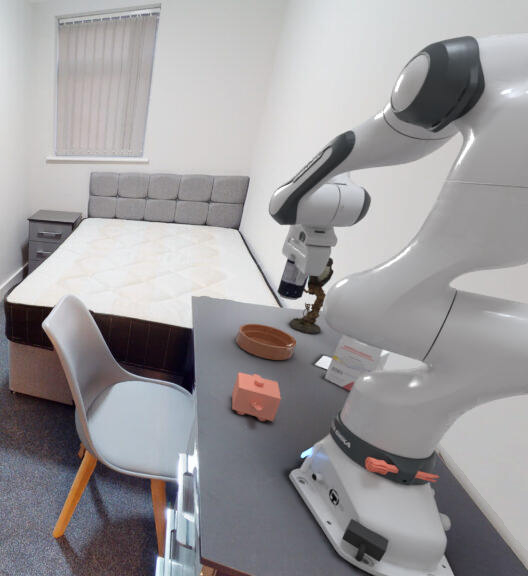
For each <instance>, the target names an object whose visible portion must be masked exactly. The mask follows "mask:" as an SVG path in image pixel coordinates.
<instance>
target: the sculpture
mask: <svg viewBox="0 0 528 576" xmlns="http://www.w3.org/2000/svg"><path fill="white" fill-rule="evenodd" d="M333 264H334V259H333V258H332V257H329V260H328V262H327V265H326V267H325V269H324V271H323V273H322V274H321V275H320V276H310V275H309V277H308V280H307V289H306V288H305V289H304V291H303V293H305V294H308V295H312V296H314V295H315V297H316V298H315V300H314V301H313V302H314V303H307V302H304V306H305V308H304V310H303V312H302V315H303V316H302V317H299V318H298V317H296V318H293V319H291V320H290V322H289V323H288V325H289V326H290V327H292V328H293V329H294V330H297V331H299V332H303V333H306V334H311V335H314V334H318V333H320V332H321V327H320V326H319V325H318V324H316V322H317V319H318V318H320V316H321V315H320V311H321V309H322V308H323V302H324V298H325V296H326V294H327V293H325V290H324V289H323V287H324V286H326V285H327V284H328V282H329V281H330V280H331V279H332V277H333V275H334V270H333V267H332V266H333ZM310 309H311V310H310ZM305 311H307V312H306V314H305Z"/></svg>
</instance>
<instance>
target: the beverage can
mask: <svg viewBox="0 0 528 576" xmlns="http://www.w3.org/2000/svg"><path fill="white" fill-rule="evenodd" d="M295 258H296V257H294V256H293V255H292V254H291V255H290V257H289V258H286V263H285V265H284V269H283V272H282V275H281V278H280V281H279V285H278V287H277V294H278V295H279V296H280V298H283V299H286V300H290V301H296V300H298V299H301V298H302V297H303V295H304V289H306V285H307V284H308V279H309V276H308V277H307V278H306V279H305V281H304V284H303V285H296V284H295V283H294V280H295V277H297V275H298V274H299V273H298V271H299V269H298V268H297V267H296V266H295Z"/></svg>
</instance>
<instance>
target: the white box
mask: <svg viewBox="0 0 528 576" xmlns="http://www.w3.org/2000/svg"><path fill="white" fill-rule="evenodd" d="M332 358H333V357H330V356H327V355H323V356H322V357H321V358H320V359H318V360H317V361H316V363H314V365H315V366H317V367H319V368H323V369H325V370H328V368H329V365H330V363H331V360H332Z"/></svg>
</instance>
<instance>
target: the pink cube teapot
mask: <svg viewBox="0 0 528 576" xmlns="http://www.w3.org/2000/svg"><path fill="white" fill-rule="evenodd" d="M231 394H232V396H231V399H232V400H231V402H232V403H231V404H232V406H231V407H232V408H231V409H232V410H233V411H236V413H237V414H238V415H241V416H244V415H250V416H254V417H256V418H257V419H258V421H261V422H266V421H271V422H274V420H275V417H276V414H277V412H278V409H279V407H280V404H281V401H282V397H281V390H280V387H279V382H278V381H275V380H271V379H267V378H263V377H261V375H260V374H257V373H256V374H255V373H253V374H252V375H251V374H248V373H243V372H240V371H238V372H237V375H236V379H235V382H234V386H233V389H232V393H231Z"/></svg>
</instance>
